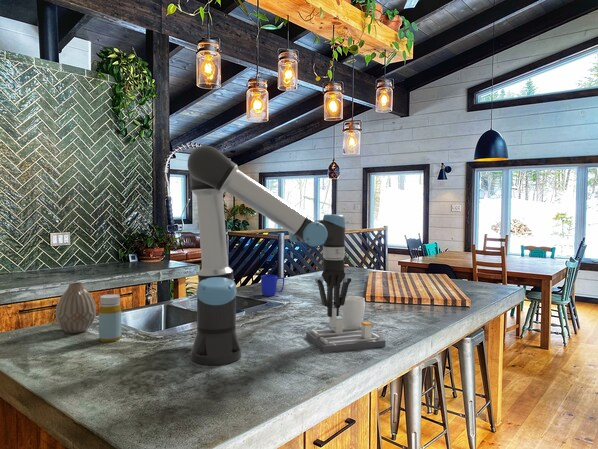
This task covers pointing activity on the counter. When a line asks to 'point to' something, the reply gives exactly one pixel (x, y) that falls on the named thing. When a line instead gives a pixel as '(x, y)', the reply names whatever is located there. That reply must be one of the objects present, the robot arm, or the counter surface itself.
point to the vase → (75, 309)
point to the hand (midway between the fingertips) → (332, 325)
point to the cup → (353, 311)
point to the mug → (270, 284)
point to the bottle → (110, 318)
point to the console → (343, 339)
